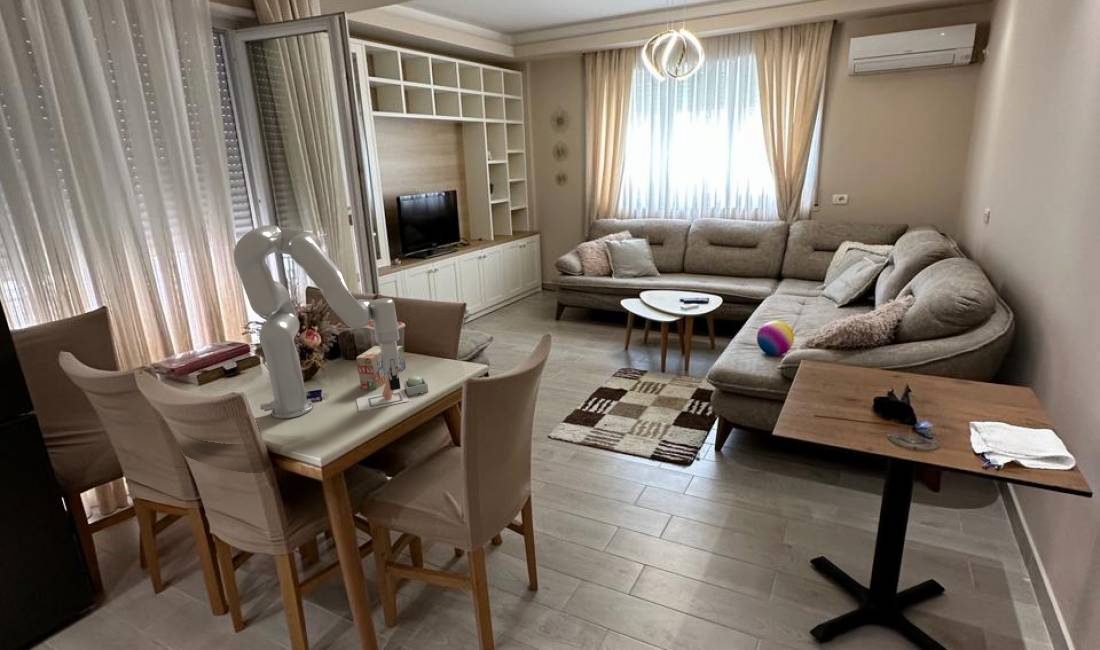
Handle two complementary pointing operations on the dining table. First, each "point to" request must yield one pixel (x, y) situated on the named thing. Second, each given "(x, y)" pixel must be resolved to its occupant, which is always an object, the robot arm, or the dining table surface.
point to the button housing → (416, 388)
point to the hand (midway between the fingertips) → (394, 386)
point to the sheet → (381, 400)
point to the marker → (387, 390)
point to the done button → (415, 381)
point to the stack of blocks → (375, 368)
